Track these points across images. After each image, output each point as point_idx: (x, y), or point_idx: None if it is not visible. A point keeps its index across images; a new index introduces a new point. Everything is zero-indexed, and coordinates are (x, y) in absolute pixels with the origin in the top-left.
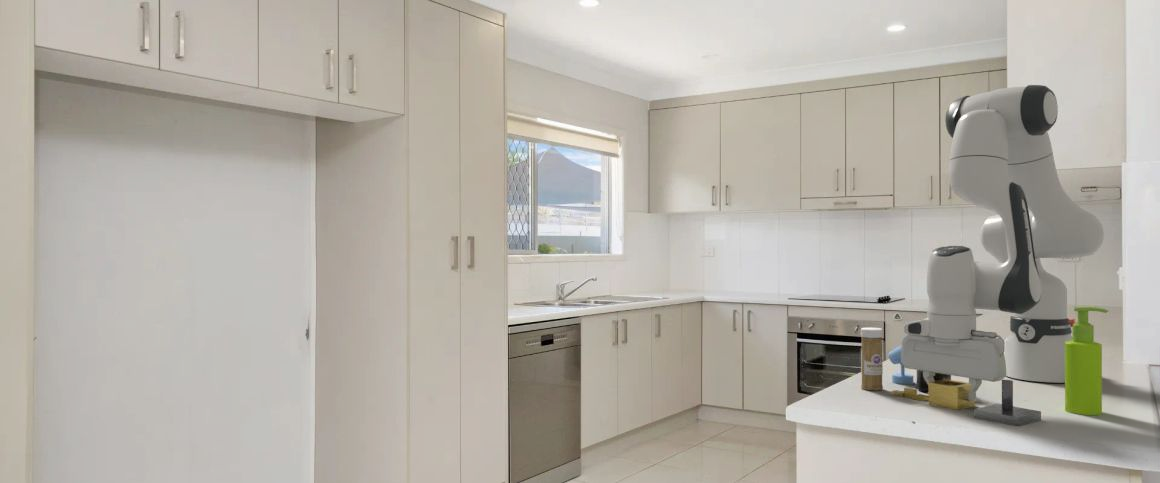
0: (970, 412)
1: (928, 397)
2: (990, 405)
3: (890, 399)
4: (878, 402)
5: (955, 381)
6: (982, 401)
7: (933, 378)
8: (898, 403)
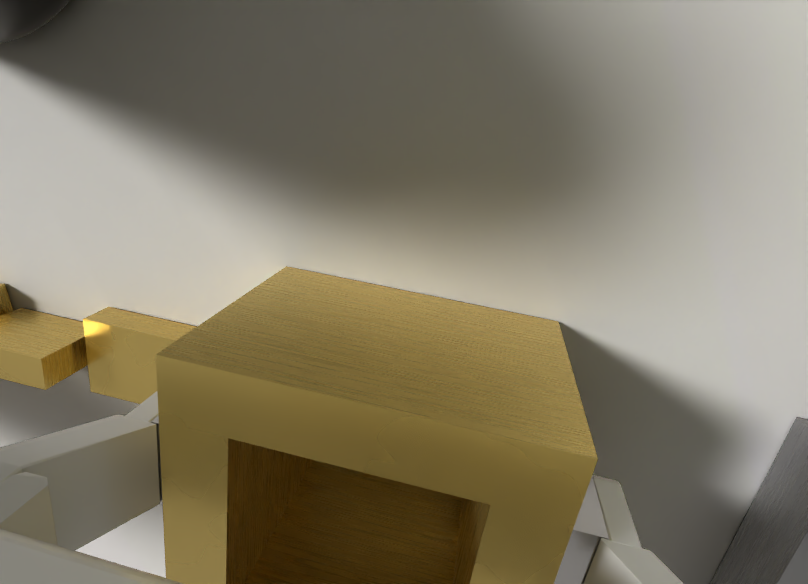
0: None
1: None
2: (788, 577)
3: None
4: None
5: (323, 444)
6: (557, 30)
7: (71, 456)
8: (142, 543)
